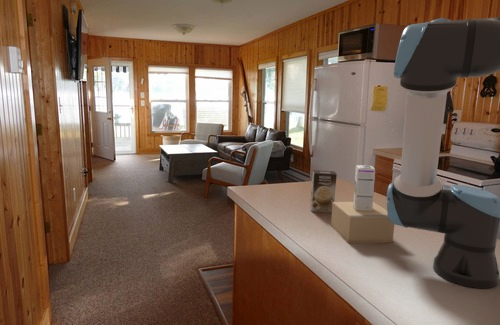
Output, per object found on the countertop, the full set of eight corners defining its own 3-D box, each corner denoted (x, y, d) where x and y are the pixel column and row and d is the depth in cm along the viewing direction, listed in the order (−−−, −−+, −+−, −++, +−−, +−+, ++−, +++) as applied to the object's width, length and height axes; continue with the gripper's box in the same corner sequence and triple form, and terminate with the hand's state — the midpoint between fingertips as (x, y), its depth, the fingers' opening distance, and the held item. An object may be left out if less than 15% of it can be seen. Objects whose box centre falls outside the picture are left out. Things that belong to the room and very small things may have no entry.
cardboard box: (392, 242, 117) (394, 218, 115) (348, 243, 115) (350, 219, 113) (370, 224, 132) (372, 203, 131) (331, 225, 130) (332, 204, 129)
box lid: (395, 218, 115) (395, 215, 115) (349, 219, 113) (350, 216, 113) (372, 203, 131) (372, 201, 131) (332, 204, 129) (332, 201, 129)
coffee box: (311, 211, 146) (313, 173, 143) (310, 207, 152) (312, 169, 149) (334, 213, 145) (336, 174, 142) (332, 208, 151) (334, 170, 148)
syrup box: (372, 211, 119) (376, 168, 116) (354, 210, 120) (357, 167, 117) (369, 206, 124) (373, 165, 122) (352, 205, 125) (355, 164, 123)
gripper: (472, 66, 110) (462, 136, 114) (423, 71, 134) (417, 128, 138) (449, 65, 109) (440, 135, 113) (404, 70, 133) (398, 128, 137)
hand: (427, 131), depth 125 cm, fingers open, 13 cm apart
